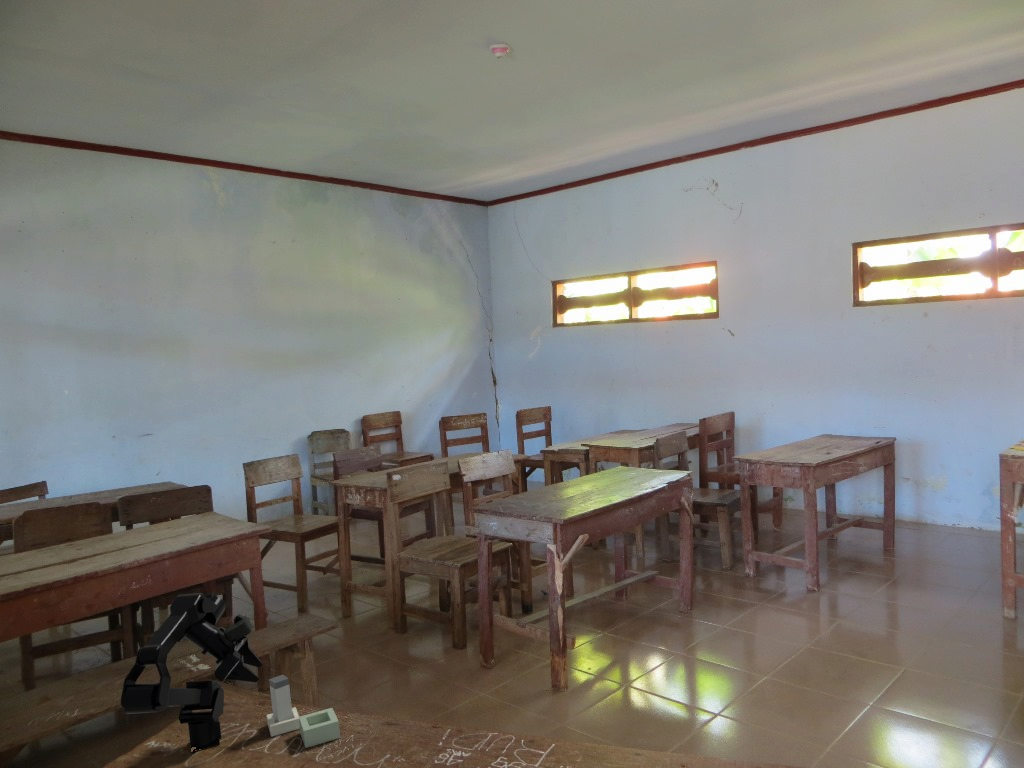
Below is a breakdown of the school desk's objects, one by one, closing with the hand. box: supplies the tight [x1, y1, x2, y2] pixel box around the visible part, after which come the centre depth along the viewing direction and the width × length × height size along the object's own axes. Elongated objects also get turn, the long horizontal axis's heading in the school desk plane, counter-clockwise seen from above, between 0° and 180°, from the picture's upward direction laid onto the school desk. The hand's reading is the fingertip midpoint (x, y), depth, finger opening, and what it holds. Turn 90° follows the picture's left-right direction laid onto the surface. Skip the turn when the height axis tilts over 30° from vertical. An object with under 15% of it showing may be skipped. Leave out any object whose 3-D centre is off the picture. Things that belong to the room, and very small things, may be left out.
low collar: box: [266, 706, 300, 738], centre depth 182 cm, size 7×7×2 cm
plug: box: [268, 674, 293, 723], centre depth 182 cm, size 4×4×12 cm
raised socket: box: [299, 707, 341, 749], centre depth 176 cm, size 8×8×4 cm
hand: (259, 672), depth 182 cm, fingers open, 9 cm apart
